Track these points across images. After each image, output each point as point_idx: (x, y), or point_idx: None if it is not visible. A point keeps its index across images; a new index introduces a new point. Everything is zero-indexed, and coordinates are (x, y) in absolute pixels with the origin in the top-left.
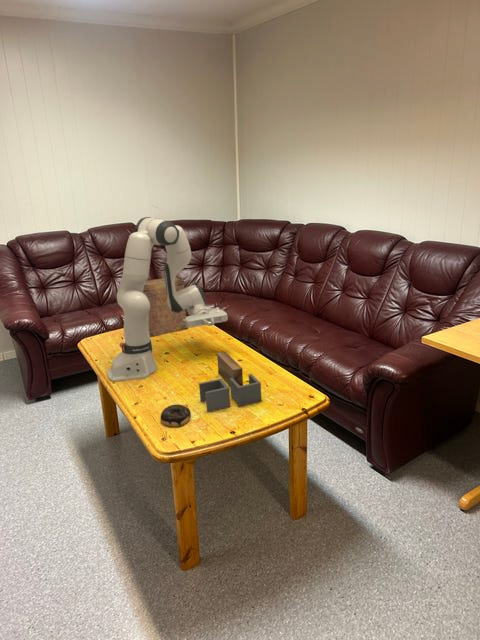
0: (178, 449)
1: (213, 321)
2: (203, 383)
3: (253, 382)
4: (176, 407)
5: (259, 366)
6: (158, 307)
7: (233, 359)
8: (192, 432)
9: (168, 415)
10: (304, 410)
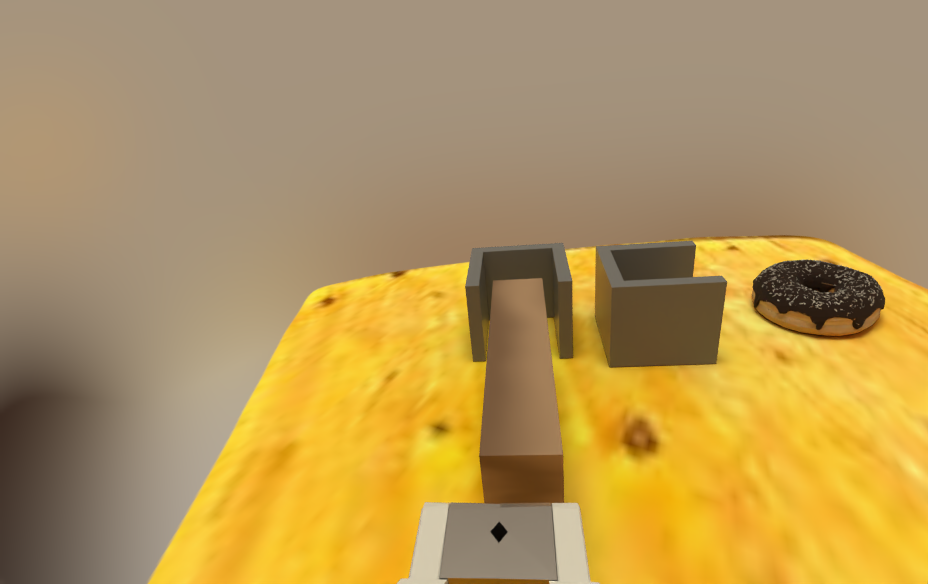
0: (771, 239)
1: (431, 509)
2: (703, 277)
3: (482, 278)
4: (820, 292)
5: (249, 557)
6: None
7: (488, 345)
8: (737, 266)
9: (840, 268)
10: (400, 271)
